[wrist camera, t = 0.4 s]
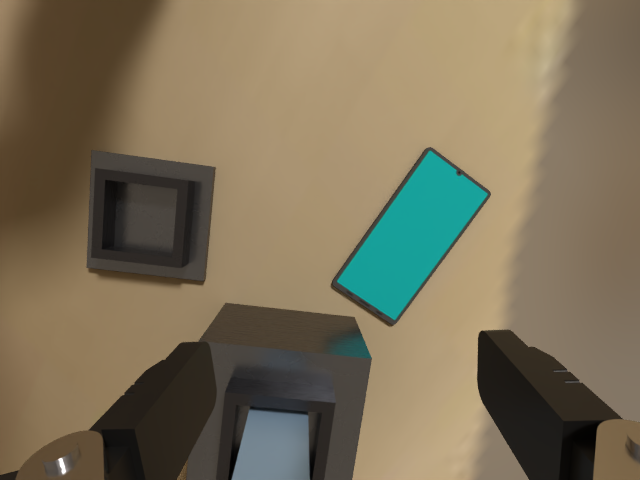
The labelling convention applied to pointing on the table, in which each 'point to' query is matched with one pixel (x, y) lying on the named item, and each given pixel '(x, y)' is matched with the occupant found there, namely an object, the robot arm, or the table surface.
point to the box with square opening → (284, 385)
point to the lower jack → (149, 216)
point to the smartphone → (411, 236)
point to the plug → (274, 446)
